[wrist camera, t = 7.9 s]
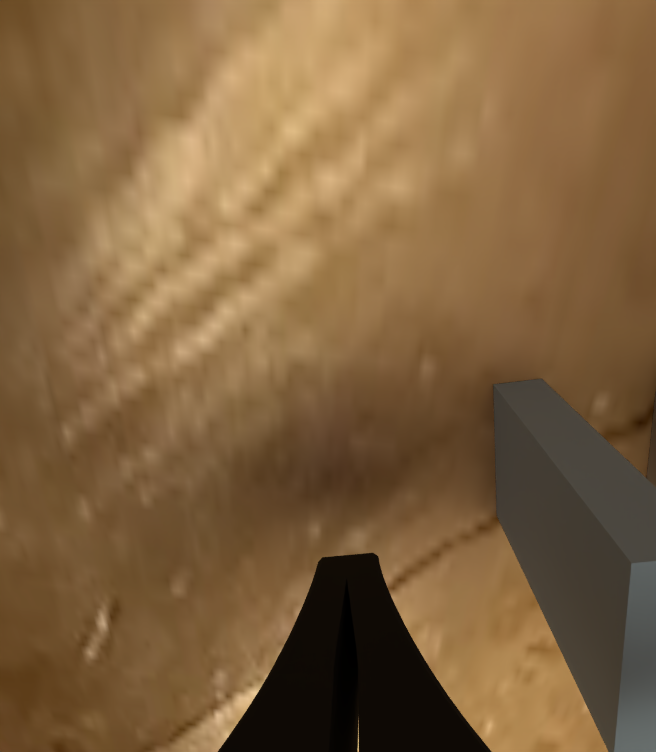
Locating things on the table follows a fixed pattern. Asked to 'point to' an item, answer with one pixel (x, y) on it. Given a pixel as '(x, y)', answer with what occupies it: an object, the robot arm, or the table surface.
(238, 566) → the table surface
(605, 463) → the domino
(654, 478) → the domino
